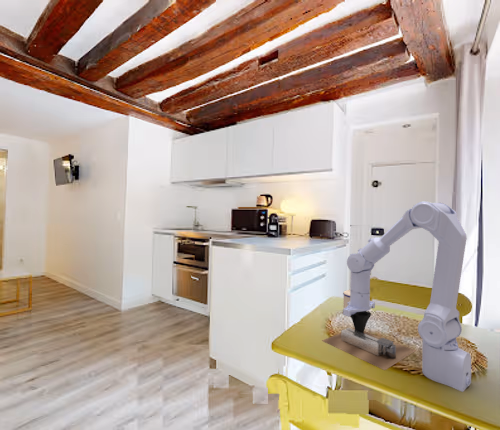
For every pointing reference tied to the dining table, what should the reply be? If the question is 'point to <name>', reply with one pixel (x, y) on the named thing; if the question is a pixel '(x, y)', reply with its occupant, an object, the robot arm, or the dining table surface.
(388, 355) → the bar
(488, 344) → the dining table surface
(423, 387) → the dining table surface
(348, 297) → the teacup with lid
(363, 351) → the walnut board
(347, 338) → the arm
